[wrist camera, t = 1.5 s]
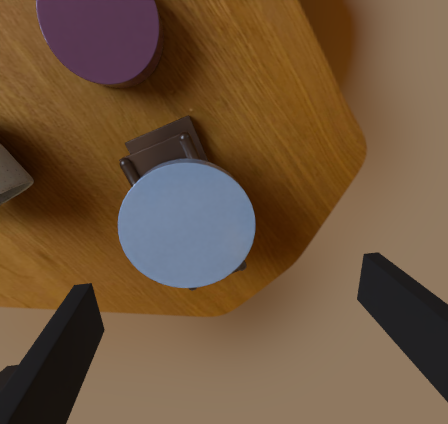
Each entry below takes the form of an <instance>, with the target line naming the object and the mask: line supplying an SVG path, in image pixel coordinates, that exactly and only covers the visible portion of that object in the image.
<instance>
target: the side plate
mask: <svg viewBox="0 0 448 424" xmlns="http://www.w3.org/2000/svg"><path fill="white" fill-rule="evenodd" d="M255 229H256V225H255V214H254V210H253V207H252V204H251V202H250V200H249V198H248V196H247V194H246V193H245V191H244V190H243V188H242V187H241V185H240V184H239V182H238V181H237V180H236V179H235V178H234V177H233V176H232V175H231V174H230V173H228V172H227V171H226V170H224V169H223V168H221V167H219V166H217V165H215V164H213V163H210V162H207V161H203V160H198V159H176V160H171V161H167V162H165V163H162V164H159V165H157V166H155V167H153V168H152V169H150V170H149V171H147V172H146V173H145V174H144V175H143V176H142V177H140V178H139V179H138V181H137V182H136V183H135V184H134V185H133V187H132V188H131V189H130V190H129V192H128V193H127V195H126V197H125V198H124V200H123V203H122V205H121V208H120V212H119V216H118V234H119V239H120V243H121V245H122V248H123V250H124V252H125V254H126V256H127V257H128V259H129V260H130V261H131V263H132V264H133V265H134V266H135V267H136V268H137V269H138V270H139V271H140V272H142V273H143V274H144V275H146V276H147V277H149V278H150V279H152V280H154V281H156V282H158V283H161V284H164V285H168V286H172V287H179V288H194V287H201V286H206V285H209V284H212V283H215V282H217V281H219V280H221V279H223V278H225V277H226V276H228V275H229V274H231V273H232V272H233V271H234V270H236V269H237V267H238V266H239V265H240V264H241V263H242V262H243V261H244V259H245V258H246V256H247V255H248V253H249V251H250V249H251V246H252V244H253V240H254V237H255Z"/></svg>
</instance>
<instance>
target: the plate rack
mask: <svg viewBox="0 0 448 424" xmlns="http://www.w3.org/2000/svg"><path fill="white" fill-rule="evenodd" d="M125 145H126V147H127V149H128V151H129V152H130V155H128V156H126V157H123V158H121V159H120V160H119V161H120V167H121V169H122V170H123V172H124V174H125V176H126V177H127V179H128V181H129V183H130V185H131V186H132V187H133V185H134V184H135V183H136V182H137V181H138V179H139V178H140V177H142V176H143V175H144V174H145V173H146V172H147V171H149V170H150V169H152V168H153V167H155V166H157V165H159V164H162V163H165V162H167V161H171V160H176V159H198V160H203V161H207V162H209V161H208V159H207V156H206V154H205V152H204V149H203V147H202V145H201V142H200V140H199V137H198V135H197V133H196V130H195V128H194V126H193V123H192V121H191V119H190V116H186V117H184V118H181V119H179V120H177V121H174V122H172V123H170V124H167V125H165V126H163V127H160V128H158V129H156V130H154V131H151V132H149V133H147V134H144V135H142V136H140V137H137V138H135V139H133V140H130V141H128V142H126V143H125ZM245 269H246V262H245V260H244V261H243V262H242V263H241V264H240V265H239V266H238V267H237V269H236V270H234V271H233V272H232V273H234V272H237V271H239V270H240V271H243V270H245ZM232 273H231V274H232ZM196 288H197V287H194V288H189V289H190V290H192V291H193V290H195V289H196Z"/></svg>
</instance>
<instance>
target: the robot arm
mask: <svg viewBox="0 0 448 424" xmlns="http://www.w3.org/2000/svg"><path fill="white" fill-rule="evenodd" d="M357 300H358V301H359V302H360V303H361V304H362V305H363V307H364V308H365V309H366V310H367V311H368V312H369V313H370V315H372V317H373V318H374V319H375V320H376V321H377V322H378V323H379V325H380V326H381V327H382V328H383V329H384V330H385V332H386V333H387V334H388V335H389V336H390V337H391V338H392V339H393V341H394V342H395V343H396V344H397V345H398V346H399V347H400V349H401V350H402V351H403V352H404V353H405V354H406V355H407V357H409V359H410V360H411V361H412V362H413V363H414V364H415V365H416V367H417V368H418V369H419V370H420V371H421V372H422V374H423V375H424V376H425V377H426V378H427V379H428V380H429V381H430V383H431V384H432V385H433V386H434V387H435V388H436V389H437V390H438V392H439V393H440V394H441V395H442V396H443V397H444V398H445V400H446V401H447V402H448V304H446V303H445V302H443V301H442V300H441V299H440V298H438V297H437V296H436V295H434V294H433V293H431V292H430V291H429V290H428V289H426V288H425V287H424V286H422V285H421V284H420V283H418V282H417V281H416V280H414V279H413V278H412V277H410V276H409V275H408V274H406V273H405V272H404V271H402V270H401V269H400V268H398V267H397V266H396V265H394V264H393V263H392V262H390V261H389V260H388V259H386V258H385V257H384V256H382V255H381V254H380V253H369V254H364V256H363V263H362V269H361V276H360V283H359V289H358V297H357ZM103 332H104V327H103V322H102V319H101V315H100V312H99V308H98V304H97V301H96V297H95V293H94V290H93V286H92V283H89V284H80V285H74V286H73V288H72V289H71V291H70V292H69V293H68V295H67V296H66V298H65V299H64V301H63V302H62V304H61V305H60V306H59V308H58V309H57V311H56V312H55V314H54V315H53V317H52V318H51V319H50V321H49V322H48V324H47V325H46V327H45V328H44V329H43V331H42V332H41V334H40V335H39V337H38V338H37V340H36V341H35V342H34V344H33V345H32V347H31V348H30V350H29V351H28V352H27V354H26V355H25V357H24V358H23V360H22V361H21V362H20V364H19V365H14V366H7V367H6V368H5V369H3V370H2V371H1V372H0V424H66V423H67V420H68V418H69V415H70V413H71V410H72V408H73V406H74V403H75V401H76V398H77V396H78V393H79V391H80V388H81V386H82V383H83V381H84V379H85V376H86V374H87V371H88V369H89V366H90V364H91V362H92V359H93V357H94V354H95V352H96V350H97V347H98V345H99V342H100V340H101V337H102V335H103Z"/></svg>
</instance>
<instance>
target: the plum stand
mask: <svg viewBox="0 0 448 424" xmlns="http://www.w3.org/2000/svg"><path fill="white" fill-rule="evenodd" d="M36 10H37V17H38V21H39V25H40V28H41V31H42V34H43V36H44V38H45V40H46V42H47V44H48V46H49V47H50V49H51V50H52V52H53V53H54V54H55V56H56V57H57V58H58V59H59V60H60V62H61V63H62V64H63V65H64V66H66V67H67V68H68V69H69V70H70V71H72V72H73V73H75V74H76V75H78V76H80V77H82V78H84V79H85V80H88V81H91V82H94V83H97V84H100V85H103V86H107V87H111V88H127V87H132V86H134V85H137V84H139V83H141V82H143V81H144V80H145V79H147V78H148V77H149V76H150V75H151V74H152V73H153V71H154V70H155V69H156V67H157V65H158V63H159V61H160V58H161V55H162V51H163V44H164V33H163V25H162V21H161V17H160V15H159V12H158V9H157V6H156V3H155V0H36Z"/></svg>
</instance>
